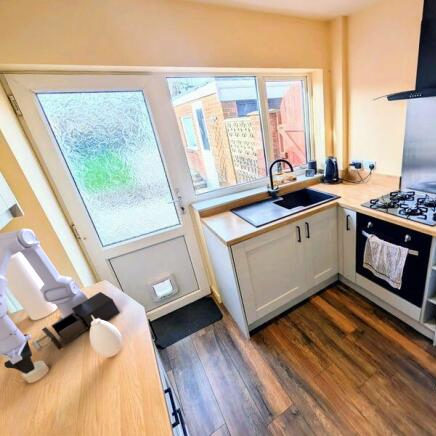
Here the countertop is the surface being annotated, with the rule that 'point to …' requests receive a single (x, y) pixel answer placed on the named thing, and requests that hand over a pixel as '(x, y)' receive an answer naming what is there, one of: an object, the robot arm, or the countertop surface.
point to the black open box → (63, 331)
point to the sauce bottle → (105, 338)
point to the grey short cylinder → (36, 372)
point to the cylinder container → (27, 287)
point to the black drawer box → (96, 309)
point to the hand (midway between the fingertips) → (29, 363)
